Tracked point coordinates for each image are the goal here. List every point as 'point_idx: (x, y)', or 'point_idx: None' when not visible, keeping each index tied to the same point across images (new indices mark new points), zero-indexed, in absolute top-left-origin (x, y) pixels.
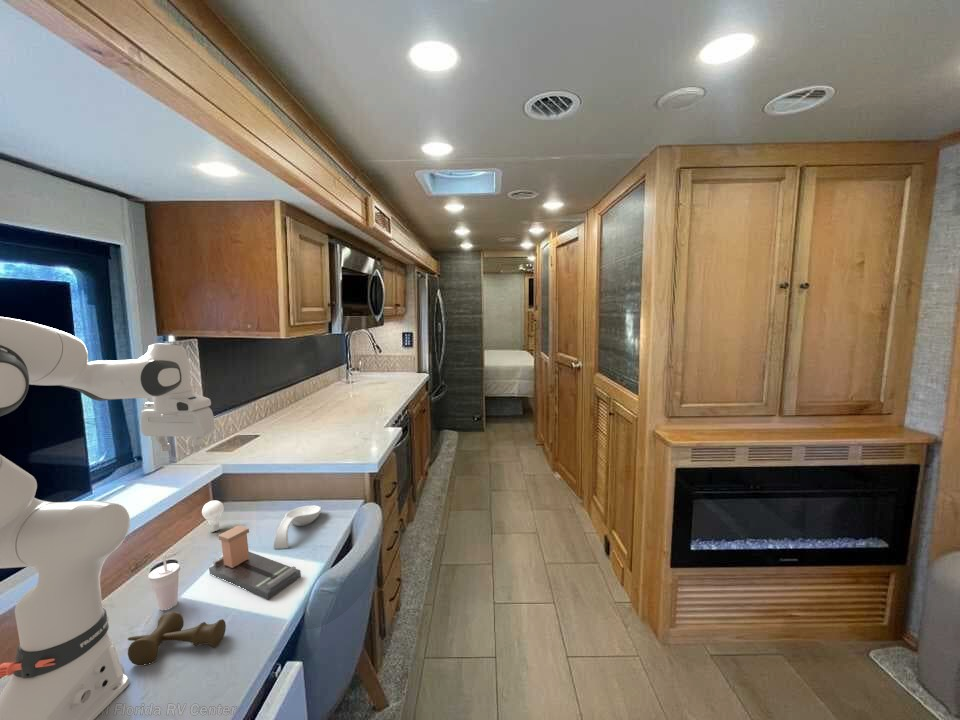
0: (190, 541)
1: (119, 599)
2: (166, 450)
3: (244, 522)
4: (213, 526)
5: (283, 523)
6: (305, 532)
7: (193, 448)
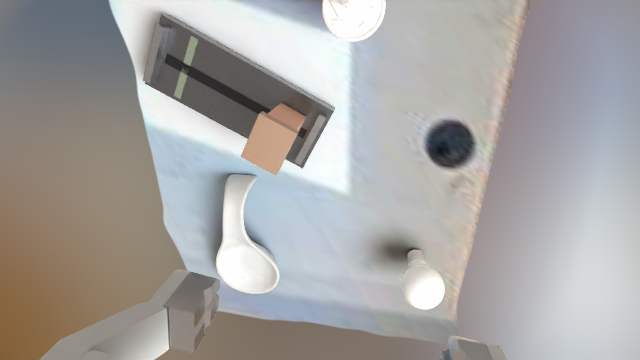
0: (447, 226)
1: (479, 40)
2: (451, 341)
3: (371, 273)
4: (414, 256)
5: (236, 216)
6: None
7: (173, 289)
